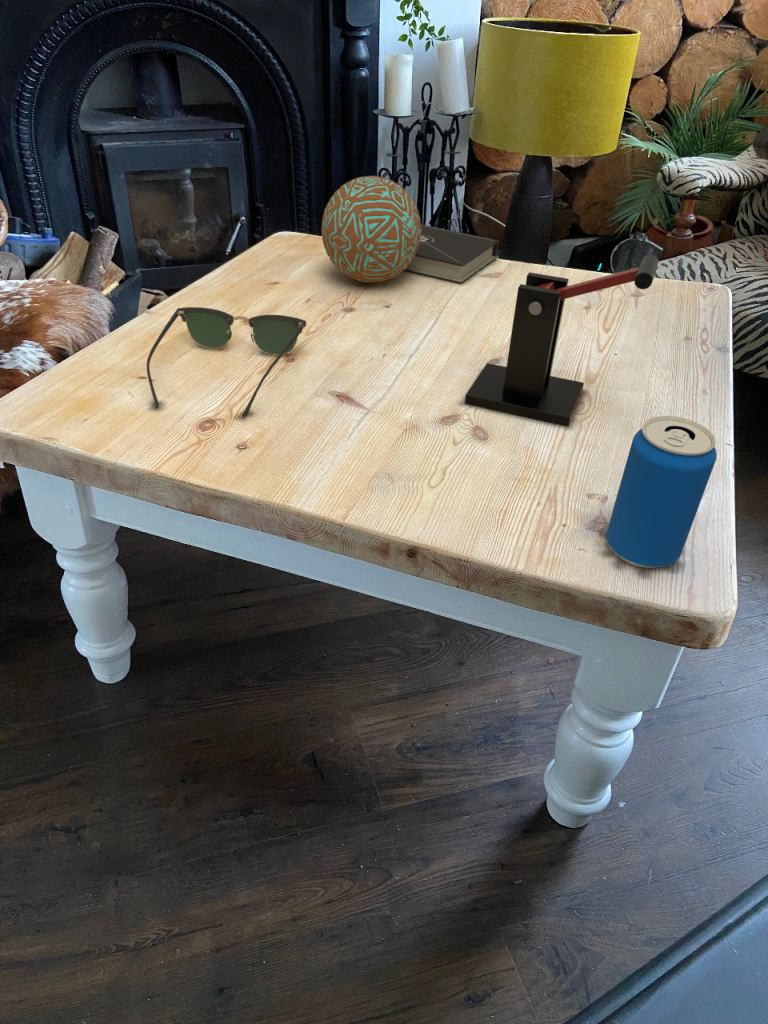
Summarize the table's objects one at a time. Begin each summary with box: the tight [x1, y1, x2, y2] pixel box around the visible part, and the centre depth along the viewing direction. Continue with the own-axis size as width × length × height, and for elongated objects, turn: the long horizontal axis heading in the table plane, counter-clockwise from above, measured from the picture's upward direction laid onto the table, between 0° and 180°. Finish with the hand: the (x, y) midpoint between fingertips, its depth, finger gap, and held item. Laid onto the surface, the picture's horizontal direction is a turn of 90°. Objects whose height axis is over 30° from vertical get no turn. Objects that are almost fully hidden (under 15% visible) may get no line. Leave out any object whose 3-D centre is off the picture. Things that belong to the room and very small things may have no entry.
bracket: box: [464, 271, 585, 427], centre depth 83 cm, size 12×9×14 cm
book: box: [403, 224, 500, 285], centre depth 124 cm, size 22×15×3 cm
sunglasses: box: [146, 306, 307, 417], centre depth 87 cm, size 16×17×5 cm
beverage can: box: [605, 415, 718, 569], centre depth 62 cm, size 6×6×12 cm
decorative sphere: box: [321, 175, 422, 284], centre depth 111 cm, size 15×15×15 cm
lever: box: [536, 253, 659, 300], centre depth 77 cm, size 13×6×2 cm, turn 68°
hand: (760, 152), depth 71 cm, fingers closed
